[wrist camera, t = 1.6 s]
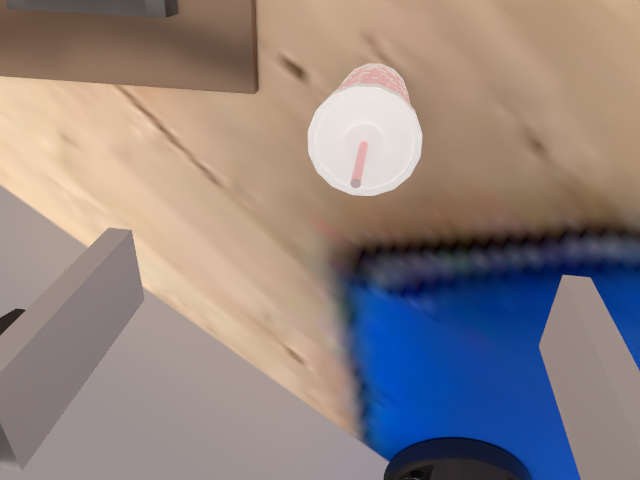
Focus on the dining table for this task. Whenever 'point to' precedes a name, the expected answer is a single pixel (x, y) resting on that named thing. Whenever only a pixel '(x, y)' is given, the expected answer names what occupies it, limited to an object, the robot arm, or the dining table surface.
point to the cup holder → (132, 42)
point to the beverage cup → (366, 133)
